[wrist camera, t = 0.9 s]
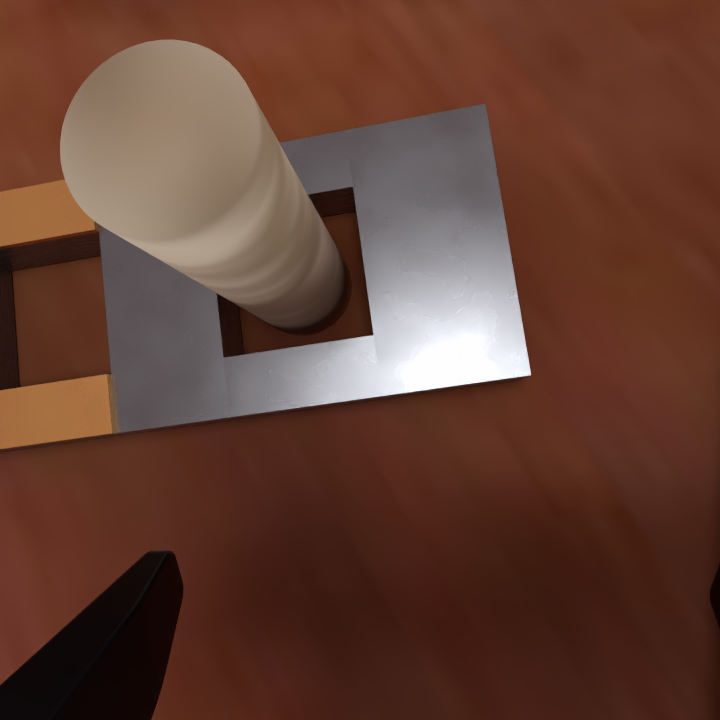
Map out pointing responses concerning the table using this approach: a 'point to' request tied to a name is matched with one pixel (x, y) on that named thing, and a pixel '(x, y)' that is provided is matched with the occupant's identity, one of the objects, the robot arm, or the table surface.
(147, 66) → the birch peg
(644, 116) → the table surface
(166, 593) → the robot arm
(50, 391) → the grey peg hole board
